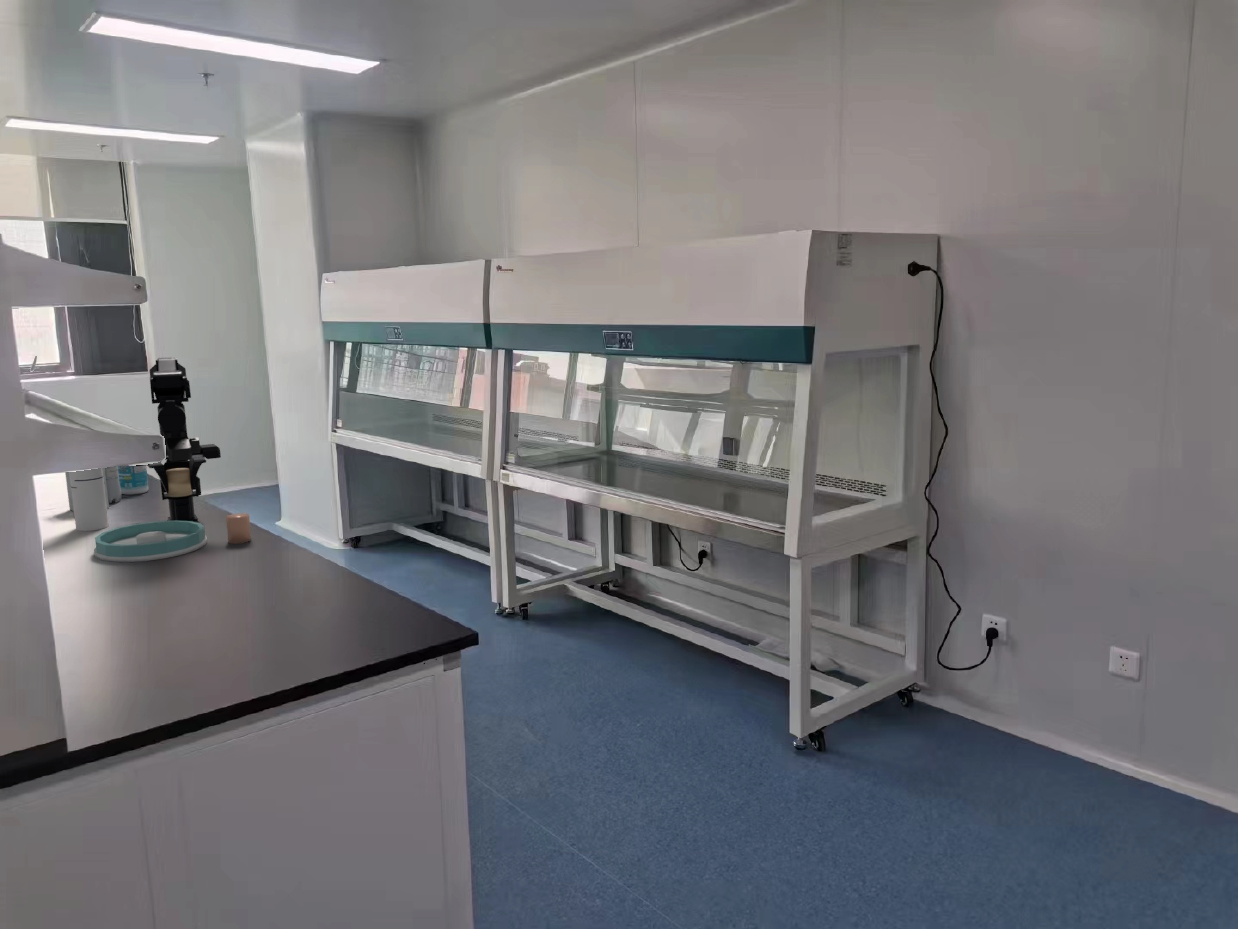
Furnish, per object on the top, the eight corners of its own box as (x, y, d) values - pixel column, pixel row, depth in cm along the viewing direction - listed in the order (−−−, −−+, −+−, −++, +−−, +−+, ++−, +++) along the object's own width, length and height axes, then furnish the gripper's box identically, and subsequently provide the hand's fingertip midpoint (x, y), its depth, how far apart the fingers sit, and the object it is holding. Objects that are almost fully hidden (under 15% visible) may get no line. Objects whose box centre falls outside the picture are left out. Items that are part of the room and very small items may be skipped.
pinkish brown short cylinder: (226, 539, 213) (224, 514, 212) (249, 536, 216) (247, 512, 215) (229, 544, 209) (227, 519, 208) (252, 541, 211) (250, 517, 210)
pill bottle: (114, 493, 264) (109, 448, 262) (138, 488, 271) (133, 444, 268) (131, 496, 261) (126, 450, 258) (154, 491, 267) (149, 446, 265)
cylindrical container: (98, 530, 222) (86, 430, 218) (69, 531, 223) (57, 430, 218) (114, 523, 229) (103, 426, 225) (87, 523, 230) (75, 426, 225)
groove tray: (92, 543, 211) (91, 528, 210) (200, 529, 223) (198, 515, 222) (96, 568, 192) (94, 552, 191) (213, 551, 204) (212, 536, 203)
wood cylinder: (167, 494, 216) (164, 469, 215) (190, 491, 219) (187, 467, 218) (170, 497, 212) (167, 472, 211) (193, 495, 215) (190, 470, 214)
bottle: (111, 505, 250) (102, 433, 246) (90, 504, 251) (81, 433, 247) (128, 499, 256) (120, 429, 253) (108, 498, 258) (99, 429, 254)
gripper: (132, 433, 201) (140, 501, 204) (222, 425, 211) (228, 491, 214) (126, 427, 210) (134, 493, 213) (213, 420, 220) (218, 483, 223)
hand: (179, 490), depth 215 cm, fingers closed on wood cylinder, 5 cm apart
